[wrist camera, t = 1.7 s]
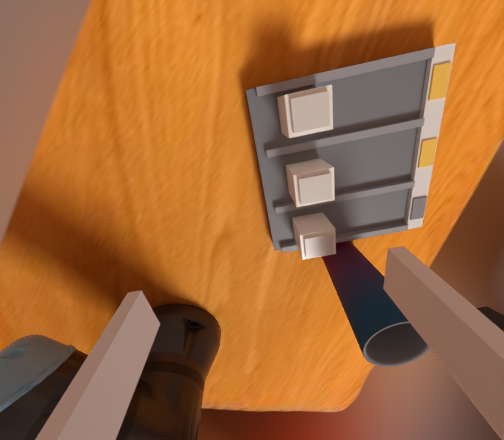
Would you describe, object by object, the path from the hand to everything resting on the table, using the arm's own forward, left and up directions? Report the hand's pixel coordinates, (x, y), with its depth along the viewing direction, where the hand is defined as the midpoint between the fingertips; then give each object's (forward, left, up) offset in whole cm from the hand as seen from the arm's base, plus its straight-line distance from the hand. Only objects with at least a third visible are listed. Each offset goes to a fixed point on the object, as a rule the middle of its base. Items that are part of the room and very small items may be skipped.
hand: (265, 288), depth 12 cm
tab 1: (+6, +7, -17) cm, 19 cm away
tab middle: (+6, 0, -17) cm, 18 cm away
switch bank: (+11, 0, -19) cm, 22 cm away
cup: (+11, -14, -19) cm, 26 cm away
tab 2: (+6, -7, -17) cm, 19 cm away
